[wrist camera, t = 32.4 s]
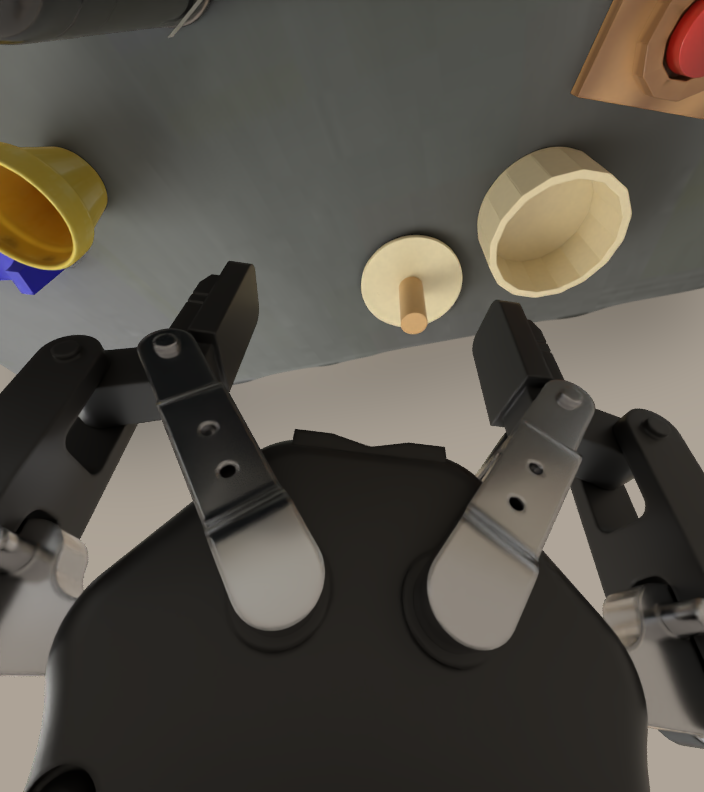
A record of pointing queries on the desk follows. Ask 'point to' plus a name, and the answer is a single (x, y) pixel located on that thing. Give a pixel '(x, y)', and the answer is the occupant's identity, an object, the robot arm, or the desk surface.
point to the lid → (411, 282)
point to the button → (688, 43)
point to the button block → (639, 60)
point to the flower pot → (47, 205)
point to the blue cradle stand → (25, 275)
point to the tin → (551, 221)
